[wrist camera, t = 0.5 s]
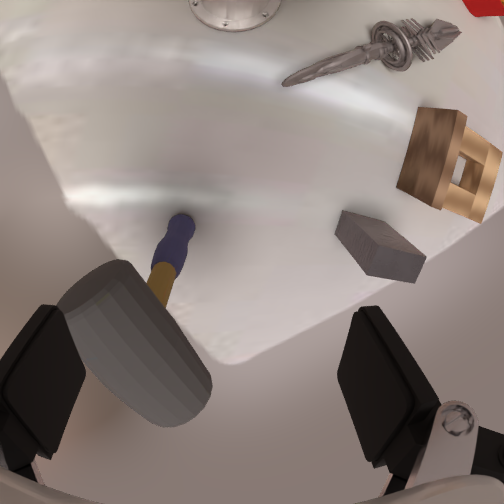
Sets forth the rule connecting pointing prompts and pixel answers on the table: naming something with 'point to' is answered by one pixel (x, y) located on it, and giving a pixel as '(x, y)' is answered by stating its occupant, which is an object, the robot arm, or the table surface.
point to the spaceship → (384, 49)
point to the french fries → (485, 7)
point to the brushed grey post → (379, 248)
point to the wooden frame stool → (449, 164)
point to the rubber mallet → (140, 333)
